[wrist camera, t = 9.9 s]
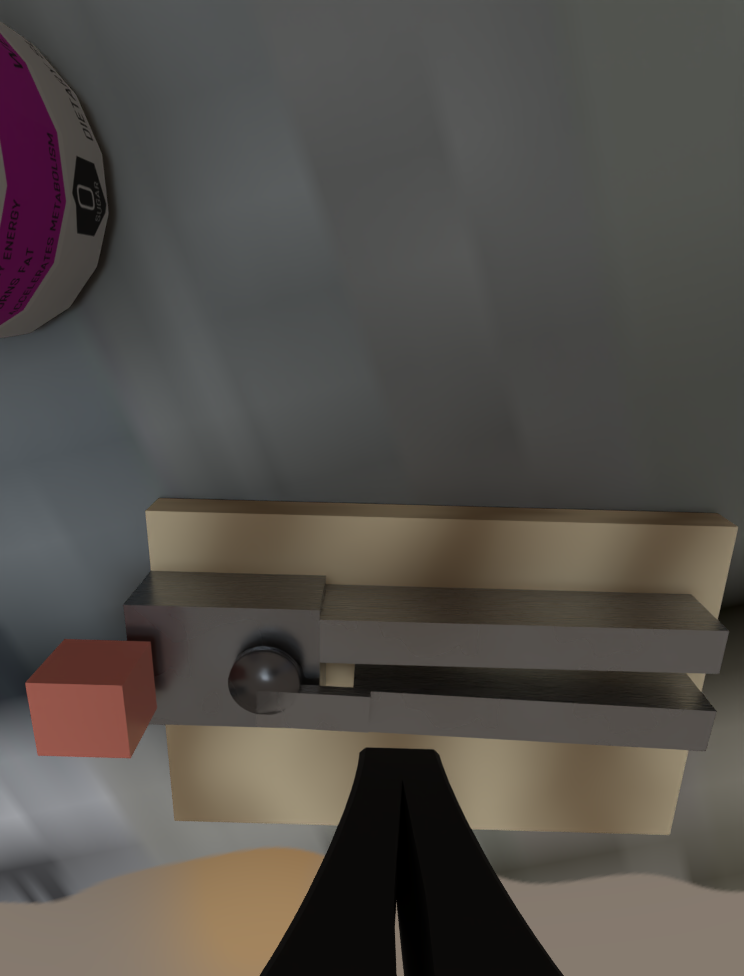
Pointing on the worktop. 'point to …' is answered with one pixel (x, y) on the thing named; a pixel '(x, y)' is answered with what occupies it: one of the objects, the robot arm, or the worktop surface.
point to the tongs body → (397, 632)
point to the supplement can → (44, 190)
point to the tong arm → (480, 702)
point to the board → (453, 564)
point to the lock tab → (92, 698)
